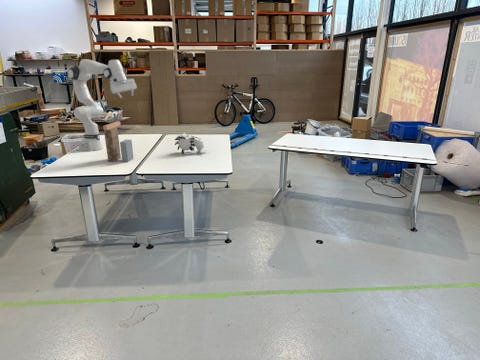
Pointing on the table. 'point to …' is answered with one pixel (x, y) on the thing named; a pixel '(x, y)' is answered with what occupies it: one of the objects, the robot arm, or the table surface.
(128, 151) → the blue-grey block
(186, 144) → the figurine
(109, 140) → the pillar
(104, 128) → the bar
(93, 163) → the table surface
